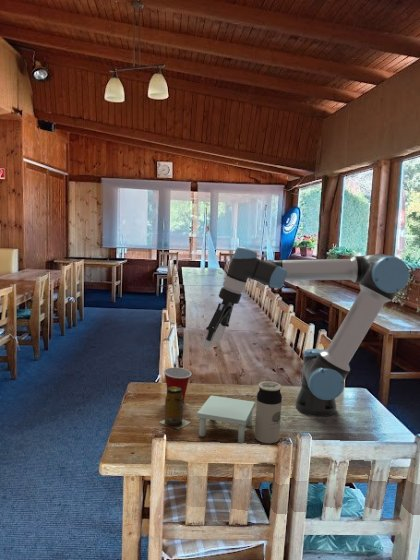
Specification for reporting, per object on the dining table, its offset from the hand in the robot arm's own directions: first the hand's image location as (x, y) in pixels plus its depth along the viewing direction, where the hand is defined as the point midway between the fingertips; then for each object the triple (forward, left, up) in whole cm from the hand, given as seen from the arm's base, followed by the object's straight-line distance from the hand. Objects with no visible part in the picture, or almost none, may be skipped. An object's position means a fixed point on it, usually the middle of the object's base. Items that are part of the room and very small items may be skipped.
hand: (211, 345), depth 159 cm
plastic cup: (+15, -7, -26) cm, 31 cm away
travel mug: (-23, +11, -26) cm, 36 cm away
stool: (-9, +10, -26) cm, 29 cm away
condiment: (+9, +11, -26) cm, 30 cm away
